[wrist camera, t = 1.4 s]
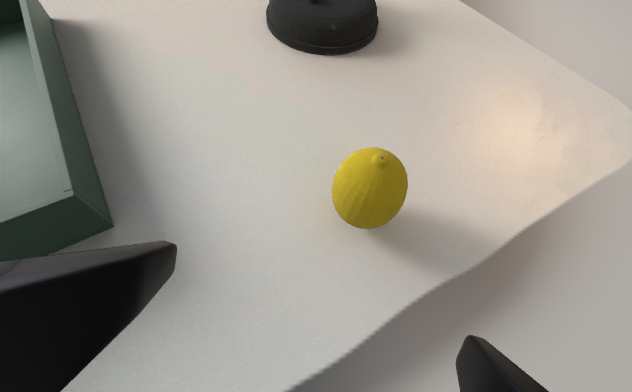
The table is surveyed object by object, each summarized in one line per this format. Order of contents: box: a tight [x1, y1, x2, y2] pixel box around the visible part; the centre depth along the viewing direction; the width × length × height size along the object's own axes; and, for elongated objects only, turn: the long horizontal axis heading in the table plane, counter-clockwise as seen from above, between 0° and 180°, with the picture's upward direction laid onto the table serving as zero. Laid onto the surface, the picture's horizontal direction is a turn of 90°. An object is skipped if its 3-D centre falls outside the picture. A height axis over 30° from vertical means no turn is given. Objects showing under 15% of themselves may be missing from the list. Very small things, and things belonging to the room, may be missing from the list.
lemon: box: [332, 148, 408, 229], centre depth 22 cm, size 6×6×8 cm
